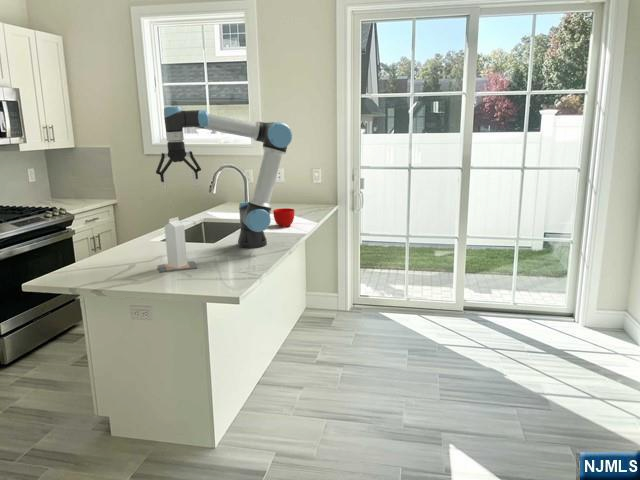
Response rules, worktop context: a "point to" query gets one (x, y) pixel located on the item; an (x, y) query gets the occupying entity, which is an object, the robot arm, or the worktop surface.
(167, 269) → the board
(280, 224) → the ceramic cup
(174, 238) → the milk
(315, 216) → the worktop surface
